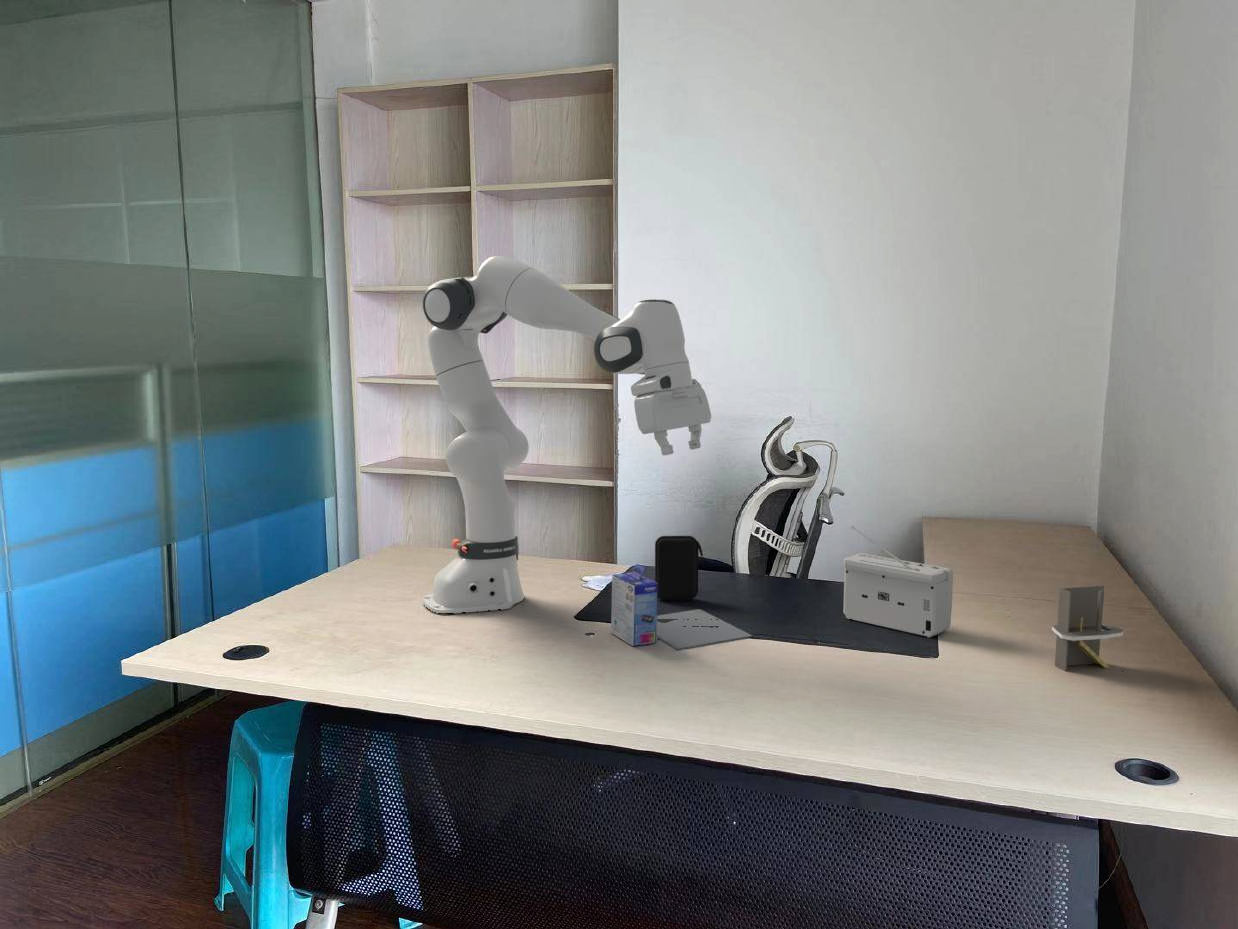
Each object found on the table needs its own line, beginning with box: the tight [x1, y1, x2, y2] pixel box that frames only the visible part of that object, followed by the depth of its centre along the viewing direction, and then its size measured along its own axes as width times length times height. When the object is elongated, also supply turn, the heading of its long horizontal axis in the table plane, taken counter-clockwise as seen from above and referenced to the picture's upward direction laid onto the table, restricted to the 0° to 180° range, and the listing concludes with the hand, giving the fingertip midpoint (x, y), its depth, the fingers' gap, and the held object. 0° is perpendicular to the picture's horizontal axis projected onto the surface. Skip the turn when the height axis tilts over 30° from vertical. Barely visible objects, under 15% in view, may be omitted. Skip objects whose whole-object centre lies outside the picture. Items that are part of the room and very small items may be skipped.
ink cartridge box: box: [610, 563, 658, 647], centre depth 183 cm, size 10×6×14 cm, turn 27°
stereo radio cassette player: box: [842, 525, 954, 639], centre depth 190 cm, size 21×8×20 cm, turn 47°
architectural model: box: [1051, 585, 1124, 672], centre depth 166 cm, size 20×25×15 cm
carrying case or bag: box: [654, 535, 704, 601], centre depth 209 cm, size 11×3×15 cm, turn 90°
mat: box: [656, 608, 753, 651], centre depth 189 cm, size 17×20×1 cm
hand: (682, 451), depth 181 cm, fingers open, 8 cm apart
